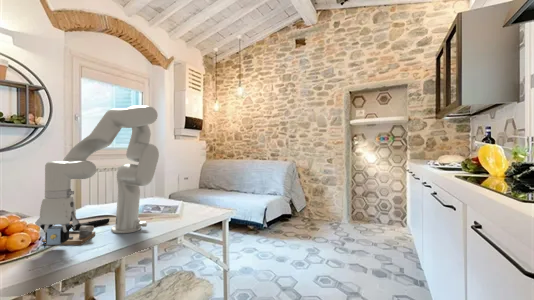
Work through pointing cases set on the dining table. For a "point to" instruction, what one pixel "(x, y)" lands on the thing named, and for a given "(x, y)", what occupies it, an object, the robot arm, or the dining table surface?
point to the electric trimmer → (91, 224)
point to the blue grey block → (54, 235)
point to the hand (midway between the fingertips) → (57, 240)
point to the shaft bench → (76, 239)
